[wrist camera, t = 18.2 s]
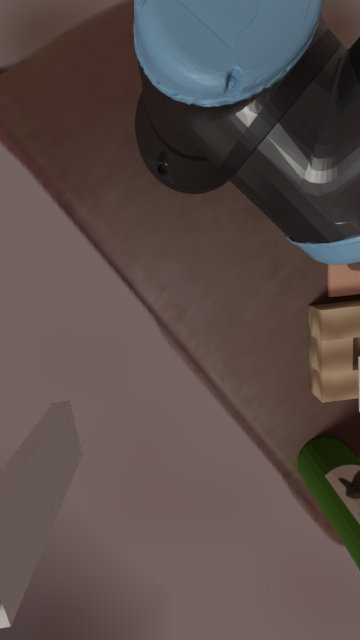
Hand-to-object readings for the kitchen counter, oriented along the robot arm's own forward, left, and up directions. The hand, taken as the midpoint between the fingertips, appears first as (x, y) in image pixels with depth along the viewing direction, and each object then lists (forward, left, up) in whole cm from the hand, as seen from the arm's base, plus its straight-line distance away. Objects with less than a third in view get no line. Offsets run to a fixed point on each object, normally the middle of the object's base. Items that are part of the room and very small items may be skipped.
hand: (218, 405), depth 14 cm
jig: (+10, +29, -32) cm, 44 cm away
